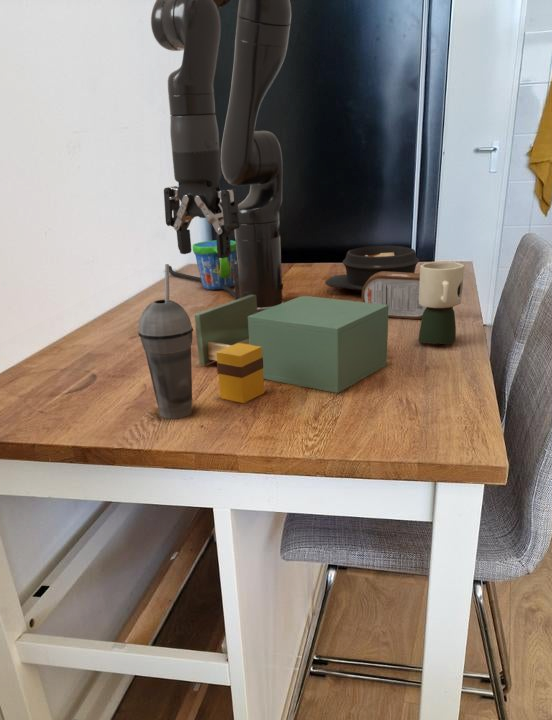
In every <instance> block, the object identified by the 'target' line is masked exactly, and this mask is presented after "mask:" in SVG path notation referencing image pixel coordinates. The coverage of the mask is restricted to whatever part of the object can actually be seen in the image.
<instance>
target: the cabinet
mask: <svg viewBox="0 0 552 720" xmlns="http://www.w3.org/2000/svg"><path fill="white" fill-rule="evenodd" d="M388 309H389V305H383V304H374V303H365V302H363V301H357V300H348V299H347V300H345V299H337V298H329V297H319V296H310V295H301V296H298V297H296V298H295V297H294V298H292V299H290V300H287V301H285V302H283V303H282V304H279V305H277V306H274V307H271V308H269V309H266V310H263V311H261V312H257V313H255V314H253V315H250V316H248V330H249V345H254V346H260V347H262V357H263V379H264V380H267V381H272V382H278V383H283V384H288V385H293V386H298V387H304V388H308V389H309V388H310V389H315V390H319V391H323V392H324V391H325V392H330V393H335V394H339V393H341V392H343V391H344V390H346V389H348V388H350V387H351V386H353V385H355V384H356V383H359V382H360V381H361V380H363V379H365V378H367V377H368V376H370V375H372V374H374V373H375V372H377V371H379V370H381V369H382V368H384V367H385V366H387V365H388V337H389V335H388V333H389V317H388Z"/></svg>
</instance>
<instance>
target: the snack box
mask: <svg viewBox="0 0 552 720" xmlns="http://www.w3.org/2000/svg"><path fill="white" fill-rule="evenodd" d="M216 353H217V361H216V370H217V371H216V372H217V374H218V384H219V385H218V387H219V393H220V394H219V397H220V399H221V400H227V401H232V402H235V403H240V404H246V403H247V402H249V401H252V400H253V399H255V398H257V397H259V396H261V395H263V394H265V385H264V384H265V381H264V380H265V379H263V357H262V347H260V346H254V345H248V344H242V343H237V344H234V345H232V346H229V347H227V348H225V349H222V350H220V351H217V352H216Z"/></svg>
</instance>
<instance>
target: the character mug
mask: <svg viewBox="0 0 552 720" xmlns="http://www.w3.org/2000/svg"><path fill="white" fill-rule="evenodd" d="M419 273H420V283H419V304H420V305H422V306H424V307H427V308H426V309H425V310H424V312H423V316H422V319H421V321H420V326H419V333H418V341H419V343H420V342H421V343H424V344H436V346H439V347H440V346H441V344H443V345H450V344H453V343H455V342H456V341H457V327H456V325H457V324H456V313H455V310H454V307H456V306H459V305H460V304H461V303H462V299H463V287H464V276H465V275H464V273H465V264H464V263H462V262H458V261H457V262H456V261H431V262H425V263H422V264H420V269H419Z"/></svg>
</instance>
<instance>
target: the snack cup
mask: <svg viewBox="0 0 552 720" xmlns="http://www.w3.org/2000/svg"><path fill="white" fill-rule="evenodd" d="M230 247H231V252H230V254H229V256H228V257H226V258H218V254H217V240H215V239H214V240H206V241H200V242H196V243H193V245H192V252H193V254H194V256H195V260H196V264H197V269H198V272H199V276H200V278H201V281H202V282H201V284H202V287H203V288H204V289H207V290H208V291H209V290H210V291H212V290H214V291H215V290H216V291H218V290H223V289H222V286H223V285H225V286H227V287H229V288H233V287H234V286H235V283H234V269H233V262H234V261H236V260H237V257H236V242H235V240H231V239H230Z"/></svg>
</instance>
